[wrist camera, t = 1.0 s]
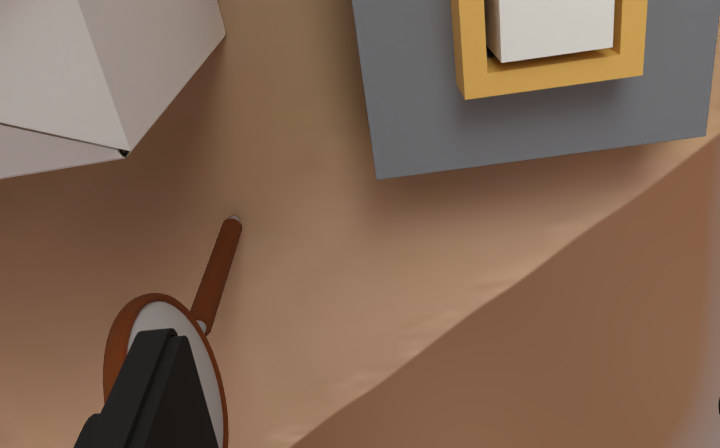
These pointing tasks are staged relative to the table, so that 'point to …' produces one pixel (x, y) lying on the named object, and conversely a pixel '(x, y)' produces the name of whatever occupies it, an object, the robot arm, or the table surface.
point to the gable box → (93, 75)
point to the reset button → (547, 27)
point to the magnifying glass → (182, 326)
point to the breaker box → (527, 85)
